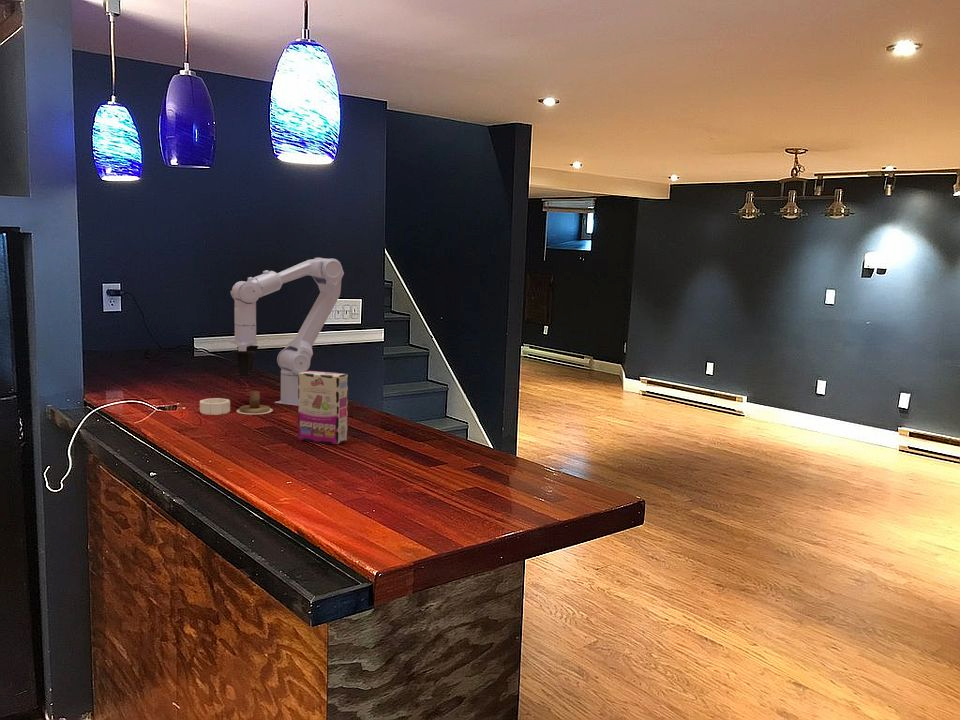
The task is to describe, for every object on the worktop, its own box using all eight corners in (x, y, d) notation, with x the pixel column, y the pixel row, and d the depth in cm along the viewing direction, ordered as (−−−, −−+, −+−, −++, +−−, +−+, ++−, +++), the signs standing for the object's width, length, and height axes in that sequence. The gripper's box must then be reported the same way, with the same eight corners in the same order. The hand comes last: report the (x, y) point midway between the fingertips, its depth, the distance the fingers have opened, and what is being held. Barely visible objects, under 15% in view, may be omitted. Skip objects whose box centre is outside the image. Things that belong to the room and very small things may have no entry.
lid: (275, 409, 216) (275, 390, 215) (257, 414, 208) (257, 395, 207) (251, 406, 218) (251, 388, 218) (233, 411, 211) (233, 392, 210)
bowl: (235, 412, 212) (235, 400, 212) (217, 417, 205) (216, 405, 205) (213, 409, 215) (212, 397, 214) (194, 414, 208) (194, 402, 207)
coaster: (279, 411, 216) (279, 409, 216) (258, 417, 207) (258, 415, 207) (251, 407, 219) (251, 405, 219) (228, 413, 211) (228, 411, 210)
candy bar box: (348, 440, 187) (349, 373, 185) (337, 445, 183) (338, 376, 180) (308, 435, 191) (308, 369, 189) (296, 439, 187) (297, 372, 184)
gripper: (234, 321, 221) (234, 369, 223) (226, 327, 207) (226, 377, 209) (259, 322, 222) (259, 369, 224) (253, 328, 208) (254, 378, 210)
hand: (245, 373), depth 217 cm, fingers open, 7 cm apart
